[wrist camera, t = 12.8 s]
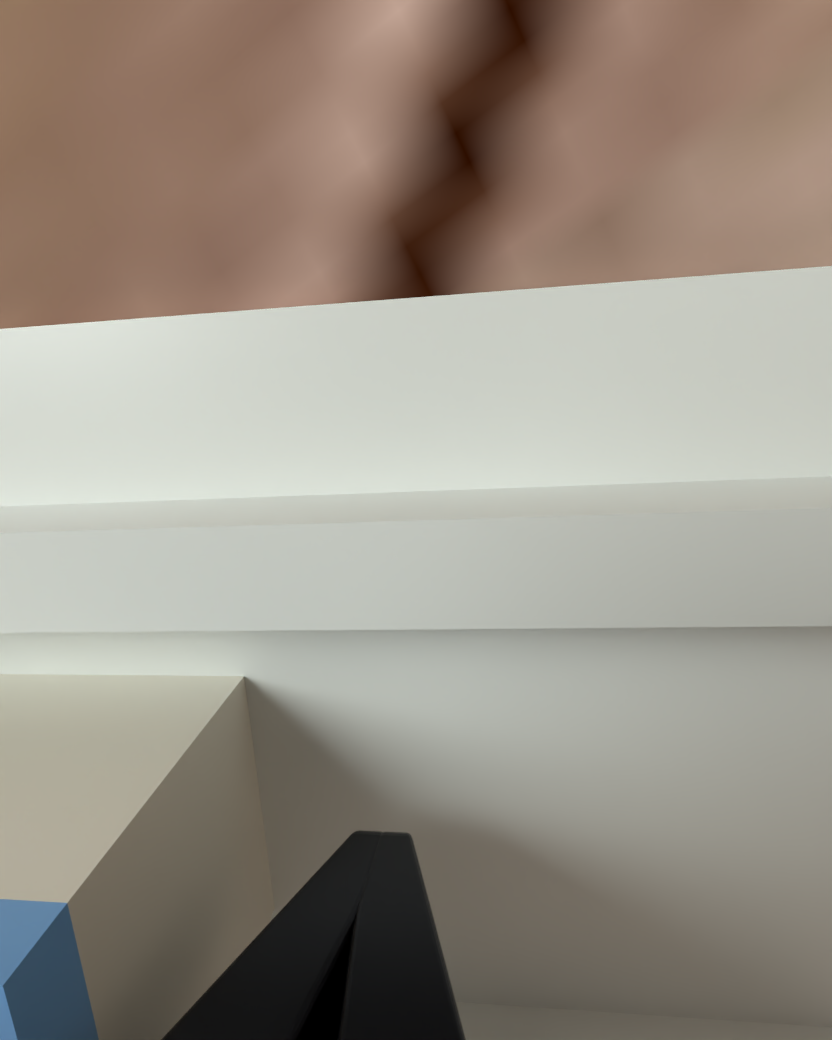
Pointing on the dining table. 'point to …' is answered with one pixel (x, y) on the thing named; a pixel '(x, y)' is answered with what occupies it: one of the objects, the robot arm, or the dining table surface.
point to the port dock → (482, 612)
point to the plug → (124, 850)
